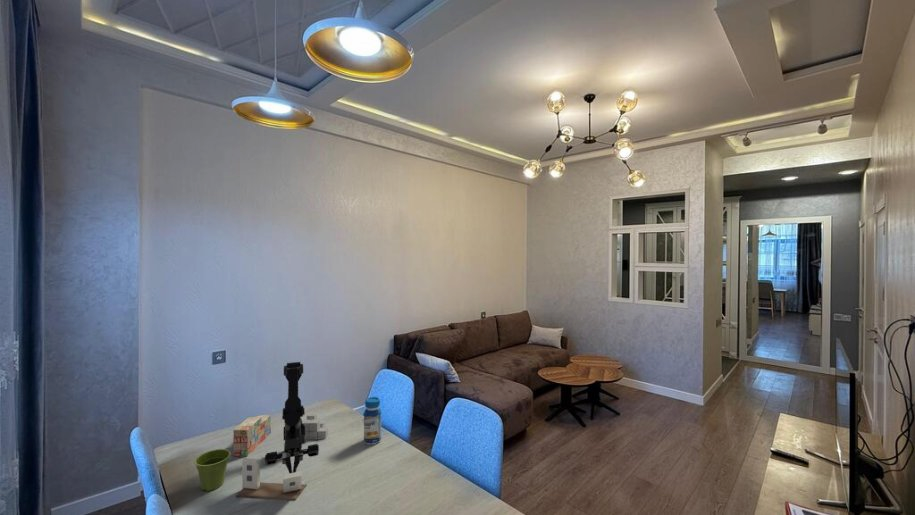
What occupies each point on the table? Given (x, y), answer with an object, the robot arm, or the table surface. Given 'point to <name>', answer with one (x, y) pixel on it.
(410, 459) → the table surface
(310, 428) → the puzzle cube
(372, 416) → the beverage bottle
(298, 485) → the tile
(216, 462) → the plant pot
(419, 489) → the table surface
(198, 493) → the table surface
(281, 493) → the tile board
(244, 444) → the stack of blocks
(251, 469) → the tile
